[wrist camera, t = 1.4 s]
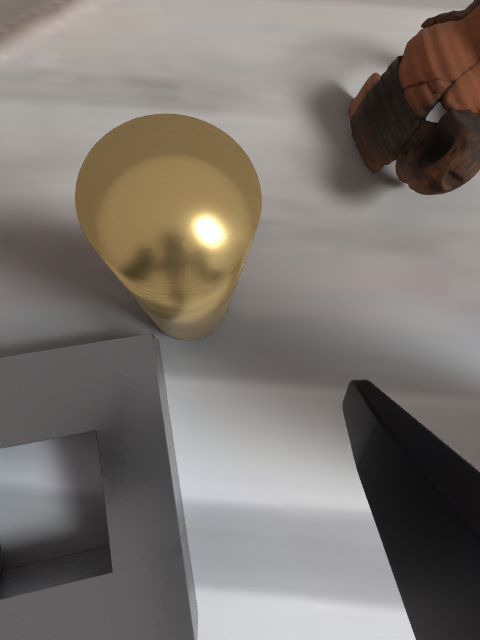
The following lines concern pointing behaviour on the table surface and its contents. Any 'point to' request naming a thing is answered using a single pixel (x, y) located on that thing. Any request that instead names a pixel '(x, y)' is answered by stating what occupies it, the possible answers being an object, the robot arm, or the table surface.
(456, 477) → the robot arm
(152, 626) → the jig plate
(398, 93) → the pottery mug
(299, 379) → the table surface
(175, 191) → the brass cylinder
